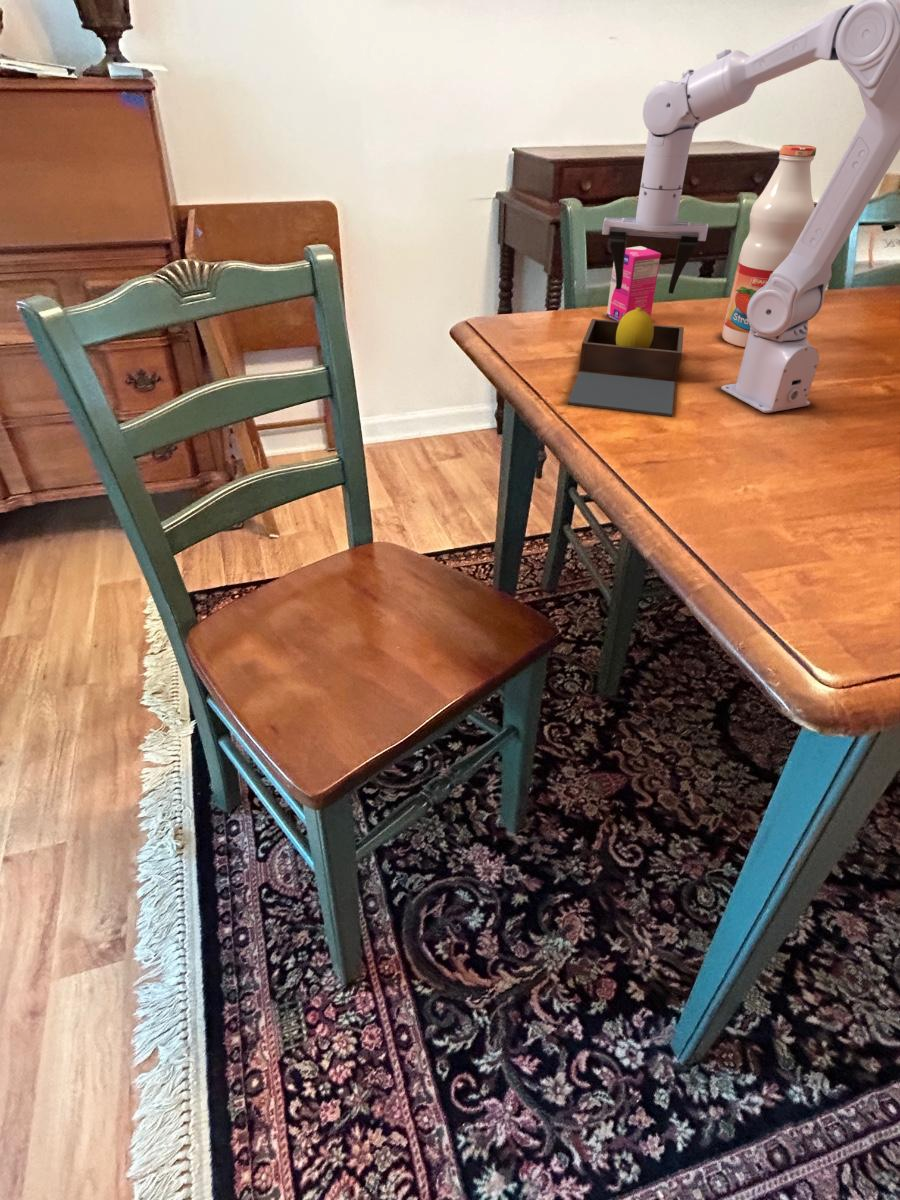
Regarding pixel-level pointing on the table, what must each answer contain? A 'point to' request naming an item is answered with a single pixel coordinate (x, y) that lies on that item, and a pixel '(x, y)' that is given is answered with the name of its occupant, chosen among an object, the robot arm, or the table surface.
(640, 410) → the placemat
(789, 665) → the table surface
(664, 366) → the dark brown shallow box
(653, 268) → the supplement box
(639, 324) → the lemon
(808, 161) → the fruit juice
